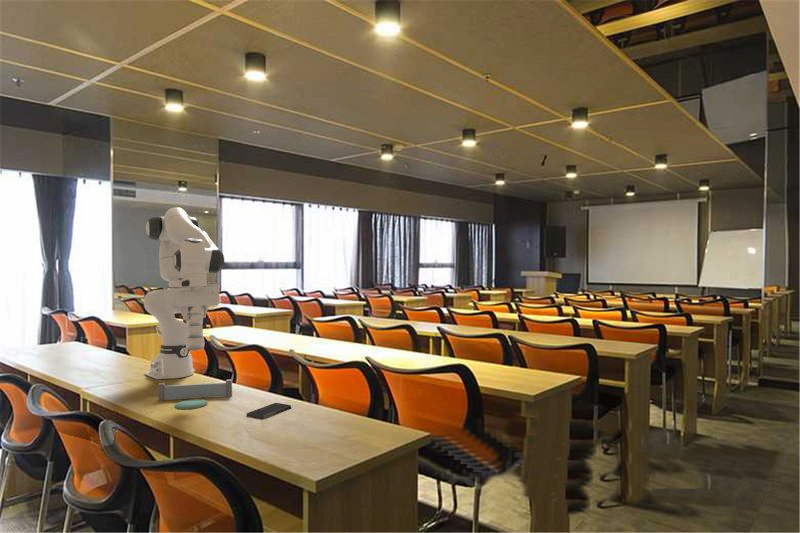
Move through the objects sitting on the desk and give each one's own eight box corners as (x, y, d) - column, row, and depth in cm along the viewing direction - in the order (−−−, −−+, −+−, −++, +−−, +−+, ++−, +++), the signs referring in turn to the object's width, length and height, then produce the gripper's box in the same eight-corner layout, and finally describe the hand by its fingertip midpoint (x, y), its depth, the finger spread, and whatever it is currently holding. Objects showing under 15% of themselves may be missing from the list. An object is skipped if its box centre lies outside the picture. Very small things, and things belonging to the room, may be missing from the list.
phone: (292, 405, 181) (262, 417, 167) (292, 408, 181) (262, 420, 167) (275, 402, 184) (244, 413, 171) (275, 405, 184) (244, 417, 171)
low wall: (158, 400, 190) (157, 384, 190) (159, 399, 192) (159, 383, 192) (231, 396, 196) (231, 380, 196) (232, 394, 198) (231, 379, 198)
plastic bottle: (199, 351, 188) (199, 297, 188) (182, 351, 188) (181, 297, 188) (207, 349, 194) (207, 296, 194) (190, 349, 195) (190, 296, 195)
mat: (168, 406, 182) (168, 405, 182) (194, 399, 192) (194, 398, 192) (187, 411, 177) (187, 410, 177) (214, 403, 186) (214, 402, 186)
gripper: (211, 280, 202) (212, 315, 202) (164, 282, 184) (164, 320, 184) (222, 280, 198) (223, 316, 198) (174, 282, 181) (175, 321, 181)
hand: (194, 318), depth 191 cm, fingers closed on plastic bottle, 6 cm apart
